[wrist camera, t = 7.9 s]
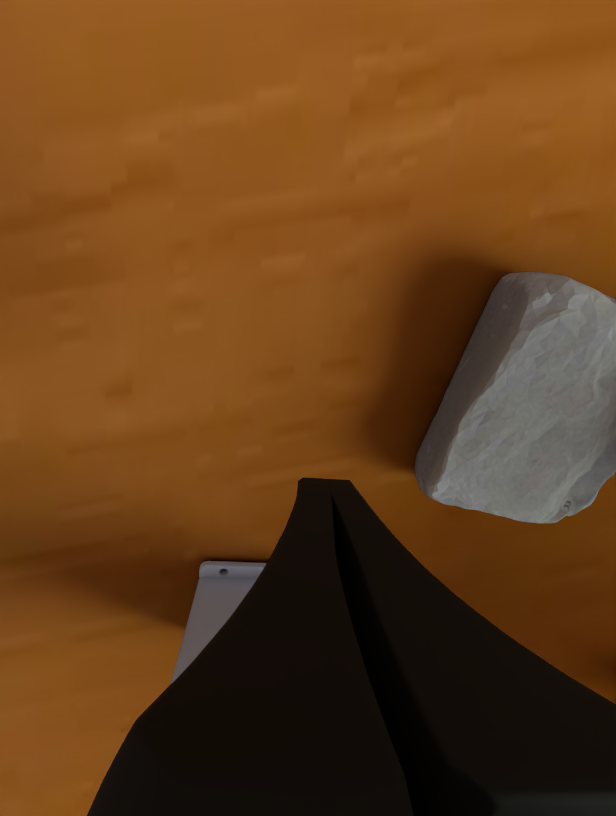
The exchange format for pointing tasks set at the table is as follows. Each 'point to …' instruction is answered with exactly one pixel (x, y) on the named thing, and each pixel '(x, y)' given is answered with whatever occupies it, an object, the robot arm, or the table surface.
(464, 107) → the table surface
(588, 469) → the stone block
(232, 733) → the robot arm
